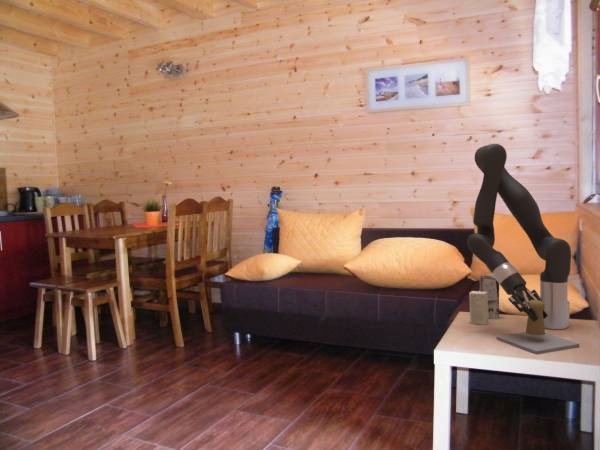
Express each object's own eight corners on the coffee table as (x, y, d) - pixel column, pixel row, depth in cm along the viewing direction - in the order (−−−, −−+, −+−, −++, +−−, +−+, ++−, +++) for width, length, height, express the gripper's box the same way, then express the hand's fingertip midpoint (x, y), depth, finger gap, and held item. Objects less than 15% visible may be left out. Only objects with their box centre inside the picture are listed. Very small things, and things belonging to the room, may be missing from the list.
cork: (537, 336, 170) (537, 303, 169) (521, 331, 175) (522, 299, 175) (549, 333, 173) (550, 301, 172) (533, 329, 178) (534, 298, 178)
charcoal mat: (536, 333, 186) (536, 330, 186) (579, 346, 169) (579, 343, 169) (496, 339, 180) (496, 336, 180) (536, 354, 163) (536, 351, 163)
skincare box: (488, 322, 202) (488, 291, 201) (485, 325, 198) (485, 293, 197) (472, 320, 205) (471, 290, 204) (469, 323, 201) (469, 292, 201)
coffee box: (499, 319, 207) (499, 279, 206) (482, 318, 208) (482, 278, 207) (495, 313, 216) (495, 275, 215) (479, 313, 217) (479, 275, 216)
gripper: (503, 274, 175) (537, 316, 166) (527, 269, 183) (560, 309, 174) (489, 287, 179) (521, 328, 171) (513, 282, 188) (545, 321, 179)
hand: (541, 318), depth 172 cm, fingers closed on cork, 5 cm apart
